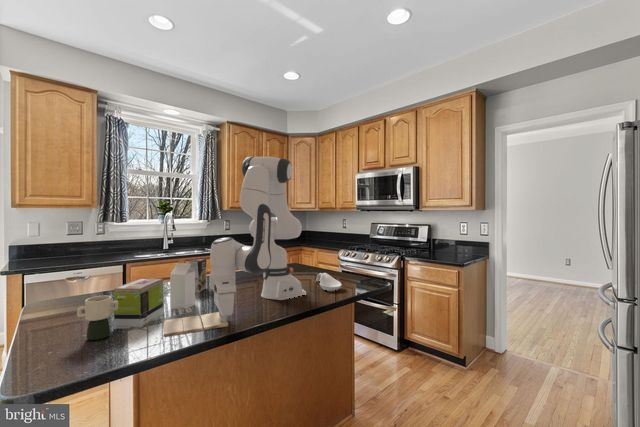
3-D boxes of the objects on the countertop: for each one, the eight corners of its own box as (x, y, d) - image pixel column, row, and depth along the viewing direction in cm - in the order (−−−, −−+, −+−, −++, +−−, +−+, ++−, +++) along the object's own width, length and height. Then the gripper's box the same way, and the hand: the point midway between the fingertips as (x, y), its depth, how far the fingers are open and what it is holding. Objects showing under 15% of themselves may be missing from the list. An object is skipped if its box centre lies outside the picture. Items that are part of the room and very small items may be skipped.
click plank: (222, 315, 119) (221, 311, 119) (228, 327, 107) (228, 322, 107) (200, 319, 116) (199, 315, 116) (203, 332, 103) (203, 327, 103)
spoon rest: (345, 292, 157) (345, 278, 157) (324, 294, 153) (324, 280, 153) (327, 282, 179) (327, 270, 179) (309, 283, 175) (309, 271, 175)
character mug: (115, 330, 104) (115, 293, 104) (120, 336, 99) (120, 297, 99) (75, 339, 97) (75, 299, 97) (78, 346, 92) (78, 304, 92)
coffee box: (199, 292, 153) (200, 261, 153) (187, 292, 153) (187, 261, 153) (206, 288, 162) (207, 258, 162) (195, 288, 163) (195, 258, 162)
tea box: (139, 314, 120) (140, 278, 120) (164, 315, 120) (164, 278, 120) (112, 329, 105) (113, 287, 105) (140, 329, 105) (141, 287, 105)
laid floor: (198, 319, 115) (198, 315, 115) (202, 332, 103) (202, 328, 103) (164, 324, 110) (164, 320, 110) (163, 338, 98) (163, 334, 98)
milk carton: (184, 310, 126) (185, 265, 126) (170, 309, 127) (170, 264, 127) (195, 305, 133) (195, 262, 133) (180, 304, 134) (181, 261, 134)
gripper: (210, 277, 117) (209, 313, 117) (217, 290, 98) (217, 332, 98) (226, 276, 119) (226, 310, 120) (237, 288, 101) (237, 328, 101)
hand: (222, 320), depth 109 cm, fingers closed
